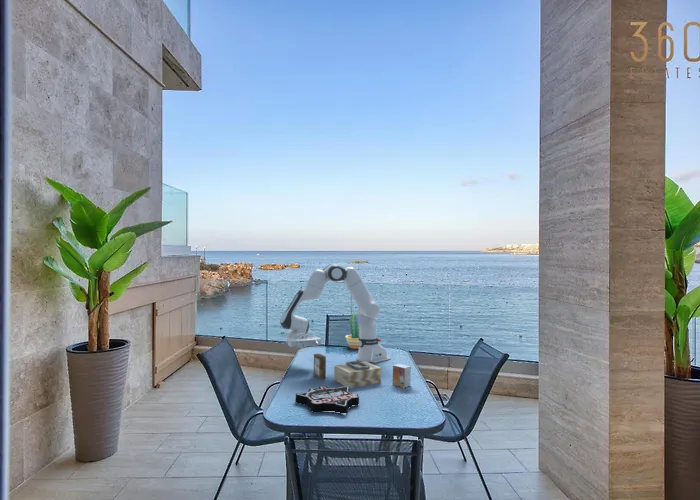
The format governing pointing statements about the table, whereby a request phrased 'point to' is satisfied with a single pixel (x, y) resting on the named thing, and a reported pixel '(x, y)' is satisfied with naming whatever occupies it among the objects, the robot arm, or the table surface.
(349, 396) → the wall plaque
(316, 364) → the tall brown block
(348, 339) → the potted cactus
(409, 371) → the small box
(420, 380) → the table surface
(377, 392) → the table surface
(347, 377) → the beige rectangular block
